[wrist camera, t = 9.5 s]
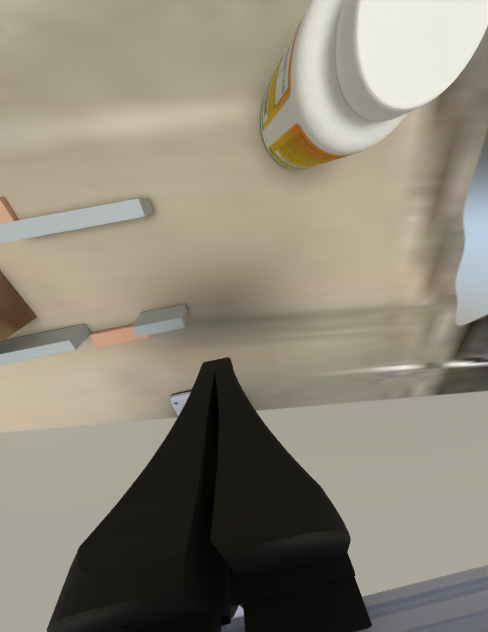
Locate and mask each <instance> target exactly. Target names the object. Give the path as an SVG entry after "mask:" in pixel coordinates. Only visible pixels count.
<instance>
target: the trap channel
mask: <svg viewBox="0 0 488 632" xmlns="http://www.w3.org/2000/svg"><path fill="white" fill-rule="evenodd" d="M152 214H154V211H153V208H152V205H151V202H150V199H149V198H141V199H133V200H128V201H122V202H117V203H111V204H106V205H101V206H95V207H90V208H84V209H79V210H73V211H68V212H62V213H57V214H51V215H46V216H40V217H35V218H29V219H24V220H18V218H17V217H16V215H15V214H14V212H13V211H12V209H11V208H10V206H9V204H8V203H7V201H6V200H5V198H4V197H0V243H5V242H10V241H16V240H21V239H26V238H32V237H37V236H43V235H48V234H53V233H59V232H64V231H70V230H75V229H80V228H86V227H91V226H97V225H102V224H108V223H113V222H118V221H124V220H129V219H135V218H140V217H145V216H148V215H152ZM187 316H188V312H187V309H186V306H185V304H182V305H177V306H172V307H167V308H162V309H157V310H152V311H147V312H142V313H141V314H140V315H139V317H138V318H137V320H136V322H135V323H134V324H133V325H128V326H123V327H118V328H113V329H108V330H103V331H98V332H93V333H91V332H90V331H89V329H88V327H87V326H86V324H82V325H77V326H72V327H67V328H62V329H57V330H52V331H47V332H42V333H37V334H32V335H27V336H22V337H17V338H12V339H7V340H3V341H2V342H0V365H5V364H10V363H15V362H20V361H25V360H30V359H35V358H40V357H44V356H49V355H54V354H59V353H64V352H69V351H74V350H76V349H77V348H78V347H79V346H80V345H81V344H82V343H83V342H84V340H85V339H86V338H87V337H88V336H90V338H91V340H92V341H93V343H94V344H95V346H96V347H97V348H101V347H106V346H111V345H116V344H121V343H126V342H131V341H136V340H140V339H145V338H150V337H151V335H152V334H157V333H162V332H167V331H172V330H177V329H182V328H185V326H186V321H187Z"/></svg>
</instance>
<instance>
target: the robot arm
mask: <svg viewBox="0 0 488 632" xmlns="http://www.w3.org/2000/svg"><path fill="white" fill-rule="evenodd" d="M170 401H171V403H172V405H173V407H174V409H175V411H176V413H177V415H178V418H177V420H176V422H175V424H174V425H173V427H172V429H171V430H170V432H169V434H168V435H167V437H166V438H165V440H164V441H163V443H162V444H161V446H160V447H159V449H158V450H157V452H156V453H155V455H154V456H153V458H152V459H151V461H150V462H149V463H148V465H147V466H146V467H145V469H144V470H143V471H142V473H141V474H140V475H139V477H138V478H137V479H136V481H135V482H134V483H133V484H132V486H131V487H130V488H129V490H128V491H127V492H126V493H125V494H124V496H123V497H122V498H121V499H120V501H119V502H118V503H117V505H116V506H115V507H114V508H113V509H112V510H111V512H110V513H109V514H108V515H107V516H106V517H105V518H104V520H103V521H102V522H101V523H100V524H99V525H98V526H97V528H96V529H95V530H94V531H93V532H92V533H91V534H90V536H89V537H88V538H87V539H86V540H85V541H84V542H83V543H82V545H81V546H80V547H79V549H78V551H77V554H76V556H75V558H74V560H73V563H72V565H71V567H70V570H69V572H68V575H67V578H66V581H65V583H64V586H63V588H62V591H61V594H60V596H59V599H58V602H57V604H56V607H55V609H54V612H53V615H52V617H51V620H50V623H49V625H48V628H47V632H488V565H486V566H482V567H478V568H474V569H470V570H466V571H462V572H458V573H454V574H450V575H447V576H443V577H439V578H435V579H431V580H427V581H423V582H419V583H415V584H411V585H407V586H403V587H400V588H395V589H392V590H387V591H383V592H380V593H376V594H372V595H368V596H364V597H362V596H361V593H360V591H359V588H358V585H357V583H356V580H355V577H354V576H355V572H354V569H353V566H352V564H351V561H350V559H349V556H348V553H347V551H348V548H349V544H350V535H349V532H348V530H347V528H346V526H345V524H344V522H343V520H342V518H341V517H340V515H339V513H338V512H337V510H336V509H335V507H334V505H333V504H332V503H331V501H330V500H329V498H328V497H327V495H326V494H325V492H324V491H323V489H322V488H321V486H320V485H319V484H318V483H317V482H316V481H315V480H314V479H313V478H312V477H311V476H310V475H309V474H308V473H307V472H306V471H305V470H304V469H303V468H302V467H301V466H300V465H299V464H298V463H297V462H296V461H295V459H294V458H293V457H292V456H291V455H290V454H289V453H288V452H287V451H286V449H285V448H284V447H283V446H282V445H281V443H280V442H279V441H278V440H277V439H276V437H275V436H274V435H273V434H272V433H271V431H270V430H269V429H268V427H267V426H266V425H265V424H264V422H263V421H262V420H261V418H260V417H259V415H258V414H257V412H256V411H255V409H254V408H253V406H252V405H251V403H250V402H249V400H248V398H247V397H246V395H245V393H244V392H243V390H242V388H241V386H240V384H239V382H238V380H237V378H236V376H235V373H234V370H233V366H232V362H231V359H230V358H228V357H227V358H222V359H217V360H213V361H208V362H204V363H203V364H202V366H201V369H200V372H199V374H198V377H197V379H196V381H195V384H194V386H193V388H192V390H191V391H190V392H186V393H181V394H176V395H173V396H171V398H170Z"/></svg>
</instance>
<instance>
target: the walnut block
mask: <svg viewBox="0 0 488 632" xmlns="http://www.w3.org/2000/svg"><path fill="white" fill-rule="evenodd" d="M36 317H37V316H36V315H35V313H34V312H33V311H32V310H31V308H30V307H29V306H28V305H27V303H26V302H25V301H24V300H23V298H22V297H21V296H20V295H19V293H18V292H17V291H16V290H15V288H14V287H13V286H12V285H11V283H10V282H9V281H8V280H7V278H6V277H5V276H4V275H3V273H2V272H1V271H0V342H2V341H3V340H5V339H6V338H7V337H9V336H10V335H12V334H13V333H15V332H16V331H18V330H19V329H20V328H22V327H23V326H25V325H26V324H28V323H29V322H30V321H32V320H33V319H35V318H36Z"/></svg>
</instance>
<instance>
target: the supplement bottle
mask: <svg viewBox="0 0 488 632" xmlns="http://www.w3.org/2000/svg"><path fill="white" fill-rule="evenodd" d="M487 26H488V0H312V1H311V2H310V4H309V6H308V8H307V10H306V11H305V14H304V16H303V18H302V20H301V22H300V24H299V26H298V28H297V30H296V32H295V34H294V36H293V38H292V40H291V42H290V44H289V45H288V47H287V49H286V51H285V53H284V55H283V57H282V59H281V61H280V63H279V65H278V67H277V69H276V71H275V73H274V75H273V77H272V79H271V81H270V83H269V85H268V88H267V90H266V93H265V96H264V99H263V103H262V109H261V131H262V136H263V140H264V143H265V145H266V147H267V149H268V151H269V153H270V154H271V156H272V157H273V158H274V159H275V160H276V161H277V162H278V163H280V164H281V165H283V166H285V167H287V168H290V169H304V168H308V167H312V166H315V165H318V164H321V163H325V162H328V161H332V160H335V159H339V158H342V157H345V156H349V155H352V154H355V153H358V152H361V151H363V150H365V149H368V148H370V147H371V146H373V145H375V144H377V143H378V142H380V141H381V140H382V139H384V138H385V137H386V136H387V135H388V134H389V133H391V132H392V131H393V130H394V129H395V128H396V126H397V125H398V124H399V123H400V122H401V121H402V120H403V118H404V117H405V116H406V114H407V113H408V112H410V111H412V110H415V109H417V108H419V107H421V106H423V105H425V104H427V103H428V102H430V101H432V100H433V99H434V98H436V97H437V96H438V95H439V94H441V93H442V92H443V91H444V90H445V89H446V88H447V87H448V86H449V85H450V84H451V83H452V82H453V81H454V80H455V79H456V78H457V77H458V75H459V74H460V73H461V72H462V70H463V69H464V68H465V66H466V65H467V63H468V62H469V60H470V59H471V57H472V56H473V54H474V52H475V50H476V49H477V47H478V45H479V43H480V41H481V39H482V37H483V35H484V33H485V30H486V28H487Z"/></svg>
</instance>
